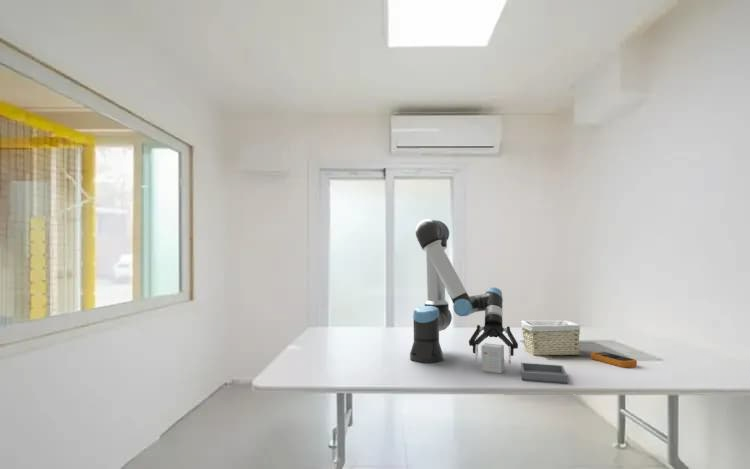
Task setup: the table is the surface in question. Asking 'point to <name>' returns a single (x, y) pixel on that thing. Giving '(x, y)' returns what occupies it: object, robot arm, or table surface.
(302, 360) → the table surface
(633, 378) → the table surface
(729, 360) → the table surface
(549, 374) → the tray
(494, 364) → the small box
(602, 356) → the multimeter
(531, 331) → the storage basket
